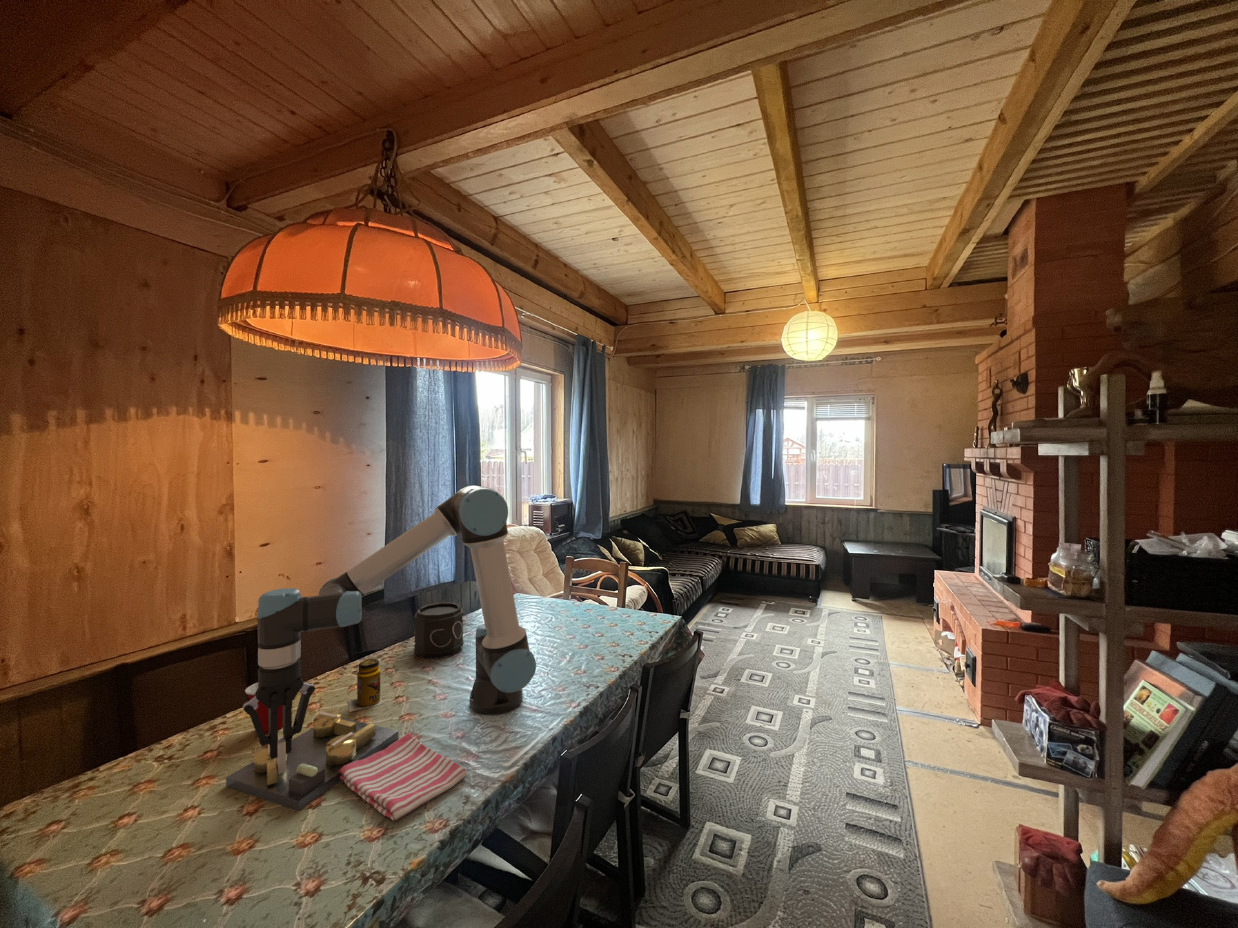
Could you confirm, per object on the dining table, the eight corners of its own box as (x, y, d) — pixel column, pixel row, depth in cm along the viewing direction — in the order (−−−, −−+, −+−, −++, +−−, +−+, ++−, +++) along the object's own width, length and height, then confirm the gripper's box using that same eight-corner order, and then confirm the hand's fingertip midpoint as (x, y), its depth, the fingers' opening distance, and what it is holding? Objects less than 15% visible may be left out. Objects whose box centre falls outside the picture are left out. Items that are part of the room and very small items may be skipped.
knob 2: (307, 734, 117) (307, 718, 117) (329, 721, 122) (329, 706, 122) (343, 743, 113) (343, 726, 113) (363, 730, 119) (363, 714, 118)
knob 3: (339, 767, 104) (339, 749, 104) (319, 762, 106) (319, 744, 106) (382, 738, 115) (382, 721, 115) (363, 733, 117) (363, 717, 117)
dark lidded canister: (475, 647, 178) (475, 605, 178) (434, 664, 163) (434, 619, 163) (445, 637, 188) (445, 598, 188) (403, 652, 173) (403, 610, 173)
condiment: (383, 704, 136) (383, 663, 136) (349, 712, 131) (349, 670, 131) (380, 694, 142) (380, 654, 142) (347, 701, 137) (347, 661, 137)
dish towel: (409, 743, 117) (409, 729, 117) (468, 779, 104) (468, 763, 104) (336, 781, 103) (336, 765, 103) (394, 828, 89) (395, 810, 89)
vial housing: (326, 779, 100) (326, 761, 100) (304, 795, 96) (304, 775, 96) (309, 774, 102) (309, 756, 102) (287, 789, 97) (286, 770, 97)
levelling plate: (398, 738, 119) (398, 731, 119) (299, 810, 94) (299, 801, 94) (334, 723, 126) (334, 715, 126) (226, 786, 101) (226, 777, 101)
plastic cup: (285, 712, 131) (284, 670, 131) (303, 724, 125) (303, 679, 125) (237, 731, 122) (237, 685, 122) (255, 744, 116) (255, 696, 116)
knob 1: (253, 762, 106) (253, 744, 106) (286, 752, 110) (286, 734, 110) (254, 791, 97) (254, 771, 97) (289, 778, 100) (289, 759, 100)
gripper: (310, 648, 108) (311, 749, 109) (239, 666, 99) (240, 776, 99) (318, 658, 103) (319, 763, 104) (244, 677, 94) (245, 793, 94)
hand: (280, 769), depth 101 cm, fingers closed
